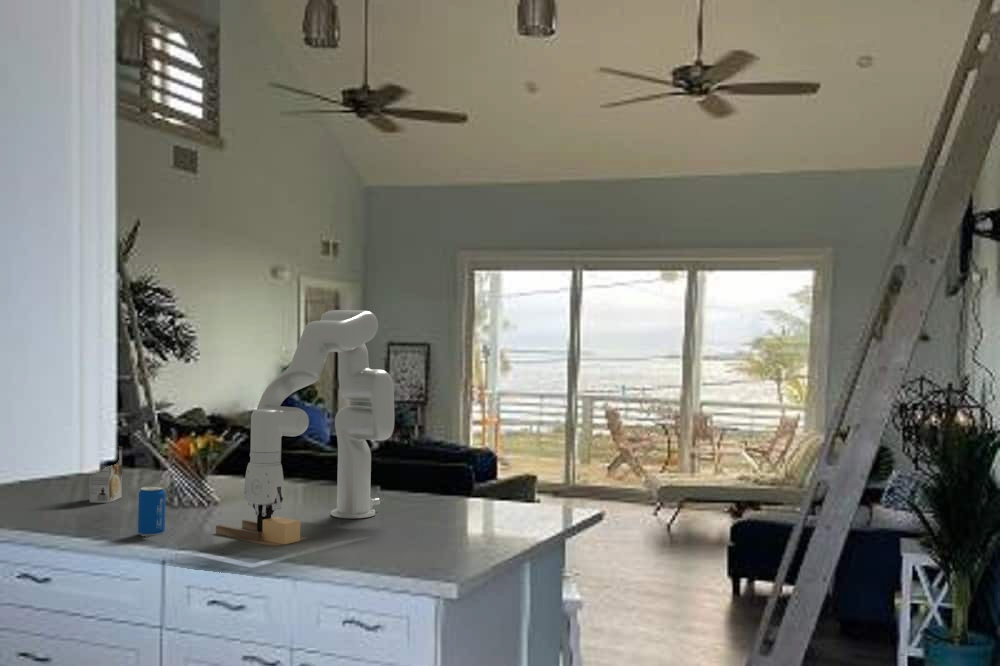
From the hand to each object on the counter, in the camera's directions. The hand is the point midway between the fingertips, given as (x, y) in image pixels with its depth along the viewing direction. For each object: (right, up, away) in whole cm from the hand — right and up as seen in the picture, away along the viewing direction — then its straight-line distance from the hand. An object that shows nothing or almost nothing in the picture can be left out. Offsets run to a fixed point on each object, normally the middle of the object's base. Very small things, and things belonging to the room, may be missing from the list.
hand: (263, 530), depth 238 cm
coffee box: (-61, -2, +51) cm, 80 cm away
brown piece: (-2, -2, +1) cm, 3 cm away
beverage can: (-30, -2, +4) cm, 30 cm away
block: (+5, -2, -4) cm, 7 cm away
